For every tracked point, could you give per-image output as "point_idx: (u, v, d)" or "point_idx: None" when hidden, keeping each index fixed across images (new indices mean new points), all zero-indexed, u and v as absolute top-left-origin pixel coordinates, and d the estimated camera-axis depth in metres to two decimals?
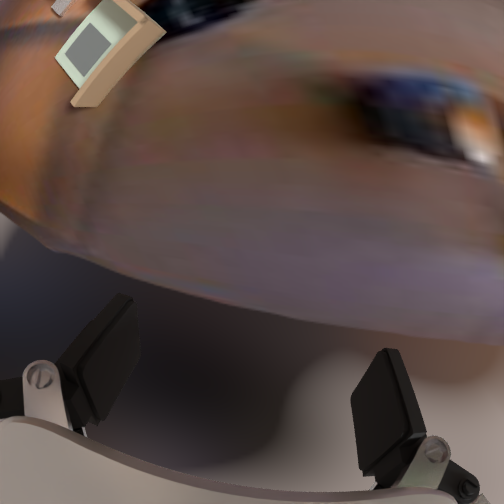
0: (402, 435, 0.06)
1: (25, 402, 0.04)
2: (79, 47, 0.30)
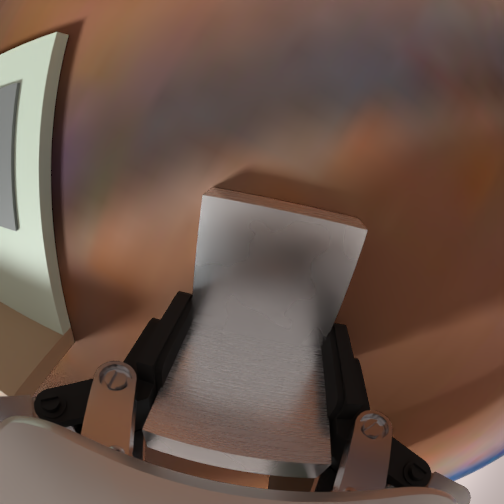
0: (337, 405, 0.07)
1: (90, 399, 0.05)
2: None
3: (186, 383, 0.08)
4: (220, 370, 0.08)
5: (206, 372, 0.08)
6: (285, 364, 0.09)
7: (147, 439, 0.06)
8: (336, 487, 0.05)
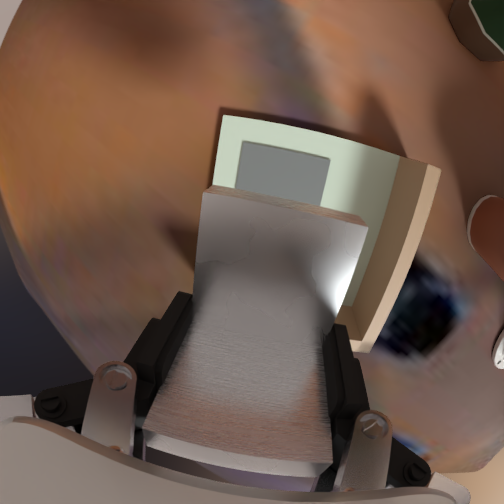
0: (337, 405, 0.07)
1: (90, 399, 0.05)
2: (272, 173, 0.22)
3: (186, 381, 0.08)
4: (220, 368, 0.08)
5: (206, 370, 0.08)
6: (286, 362, 0.09)
7: (147, 438, 0.06)
8: (336, 487, 0.05)
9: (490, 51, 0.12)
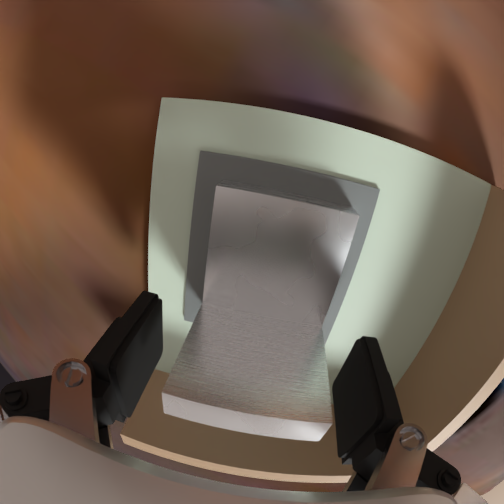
0: (376, 421, 0.06)
1: (51, 398, 0.05)
2: None
3: (200, 352, 0.09)
4: (230, 341, 0.10)
5: (218, 343, 0.09)
6: (288, 337, 0.10)
7: (165, 403, 0.07)
8: None
9: None
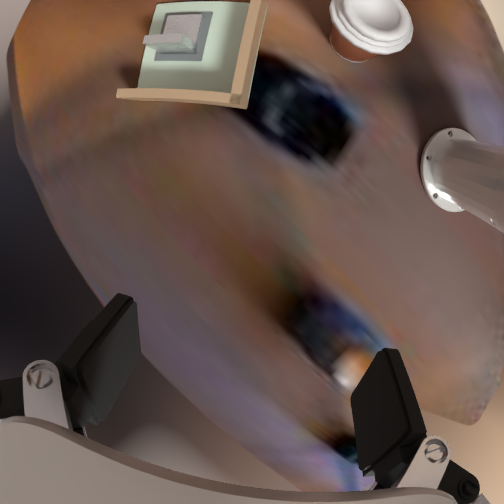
0: (402, 435, 0.06)
1: (25, 402, 0.04)
2: None
3: None
4: None
5: None
6: None
7: (144, 39, 0.24)
8: None
9: None
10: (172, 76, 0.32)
